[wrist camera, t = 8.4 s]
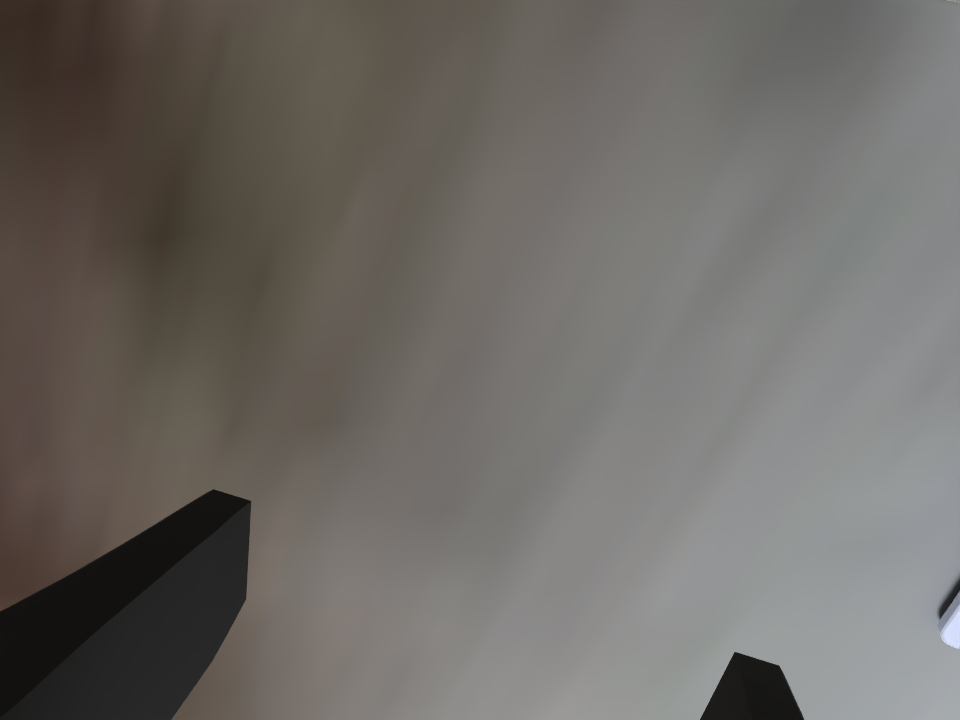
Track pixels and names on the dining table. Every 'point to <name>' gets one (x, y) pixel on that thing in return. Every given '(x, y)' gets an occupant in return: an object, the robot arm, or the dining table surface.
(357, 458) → the dining table surface
